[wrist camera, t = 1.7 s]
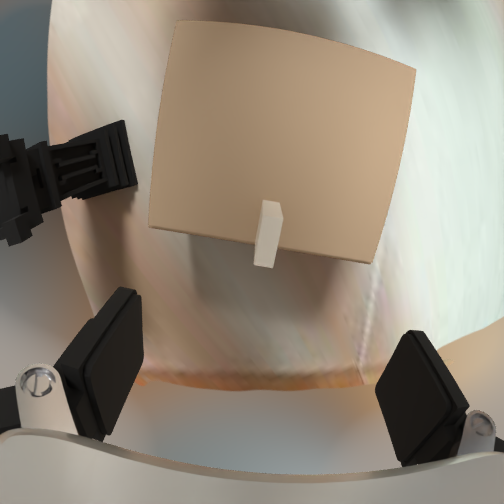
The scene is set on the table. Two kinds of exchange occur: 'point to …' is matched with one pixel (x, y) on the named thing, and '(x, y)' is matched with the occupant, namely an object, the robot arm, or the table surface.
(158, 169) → the lid flap
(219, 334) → the table surface
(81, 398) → the robot arm
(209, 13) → the table surface
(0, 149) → the chess piece
